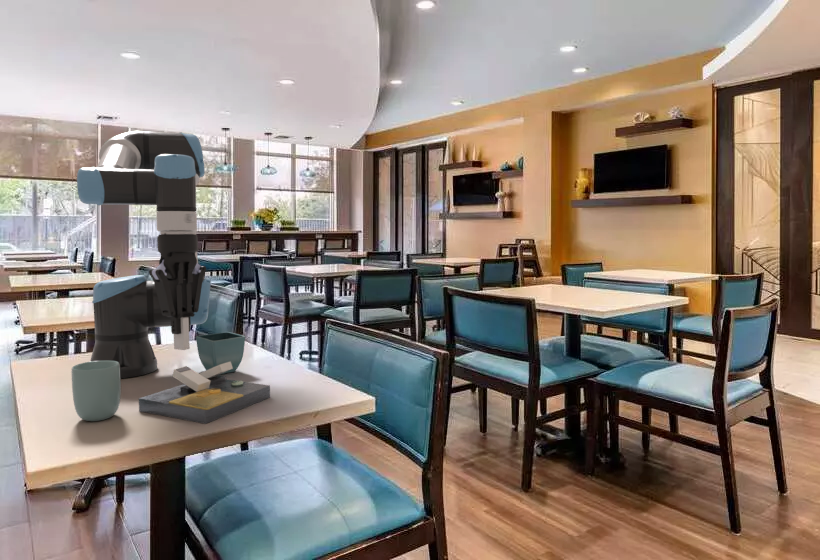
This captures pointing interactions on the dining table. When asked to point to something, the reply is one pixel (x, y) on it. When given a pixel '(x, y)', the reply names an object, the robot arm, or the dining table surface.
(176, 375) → the rocker
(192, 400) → the panel
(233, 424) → the dining table surface
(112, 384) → the cup
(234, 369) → the flower pot
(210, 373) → the rocker
